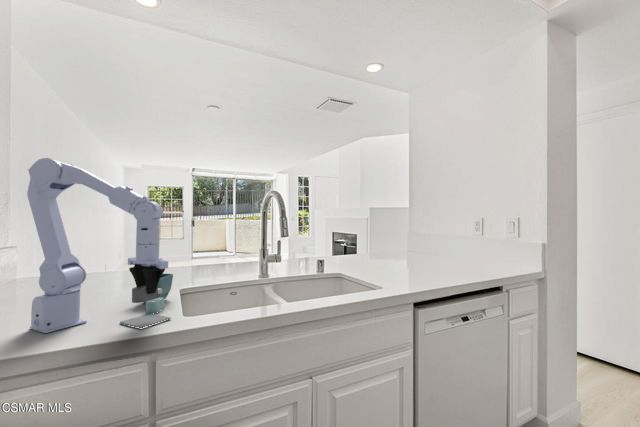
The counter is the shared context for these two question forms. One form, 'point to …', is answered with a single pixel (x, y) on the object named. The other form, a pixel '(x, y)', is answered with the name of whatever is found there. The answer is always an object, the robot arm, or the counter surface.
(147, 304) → the teal plug
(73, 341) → the counter surface
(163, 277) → the flower pot
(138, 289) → the white-capped grey post
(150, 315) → the coaster
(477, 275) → the counter surface
